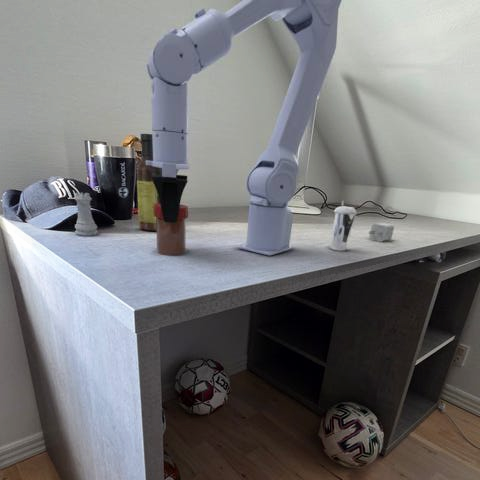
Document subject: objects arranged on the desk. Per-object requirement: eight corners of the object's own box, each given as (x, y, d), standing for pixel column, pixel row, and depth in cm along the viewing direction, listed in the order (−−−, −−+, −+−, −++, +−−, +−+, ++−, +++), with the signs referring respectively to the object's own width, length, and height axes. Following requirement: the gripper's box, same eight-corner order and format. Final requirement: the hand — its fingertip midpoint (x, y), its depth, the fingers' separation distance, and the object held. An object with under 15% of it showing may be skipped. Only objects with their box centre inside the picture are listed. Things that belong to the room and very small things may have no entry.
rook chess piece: (76, 231, 73) (71, 191, 70) (98, 231, 74) (95, 192, 71) (73, 236, 69) (68, 194, 66) (97, 236, 71) (93, 195, 67)
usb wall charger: (390, 240, 91) (394, 225, 89) (378, 242, 87) (382, 226, 85) (376, 237, 94) (380, 222, 92) (363, 239, 89) (367, 223, 88)
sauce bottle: (163, 232, 79) (161, 134, 70) (135, 230, 78) (130, 131, 70) (169, 227, 84) (167, 136, 76) (143, 225, 84) (139, 134, 76)
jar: (171, 246, 67) (170, 206, 64) (191, 252, 65) (192, 210, 61) (150, 250, 63) (149, 207, 60) (171, 256, 61) (171, 212, 57)
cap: (155, 213, 63) (155, 202, 63) (187, 215, 64) (187, 204, 64) (152, 218, 58) (152, 206, 57) (187, 220, 59) (188, 209, 58)
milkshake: (343, 246, 79) (353, 201, 75) (351, 252, 75) (361, 204, 70) (324, 245, 79) (332, 199, 75) (330, 250, 74) (339, 202, 70)
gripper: (149, 133, 62) (151, 211, 67) (139, 126, 49) (143, 225, 54) (189, 136, 63) (188, 213, 68) (190, 131, 50) (188, 227, 56)
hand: (171, 219), depth 62 cm, fingers closed on cap, 6 cm apart
